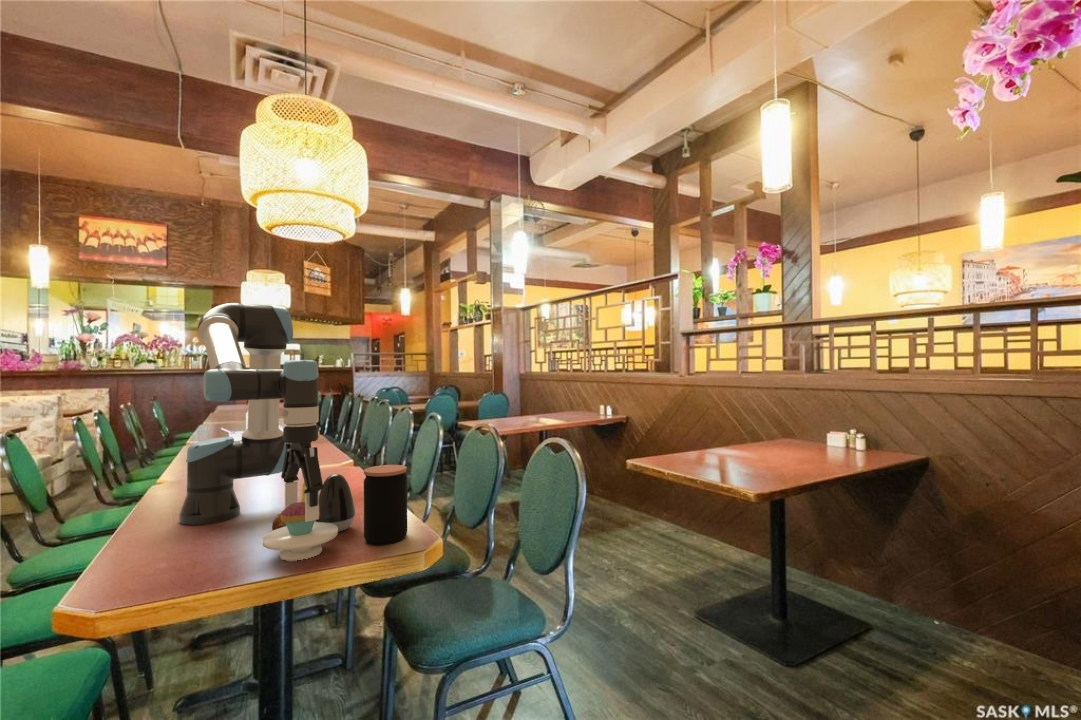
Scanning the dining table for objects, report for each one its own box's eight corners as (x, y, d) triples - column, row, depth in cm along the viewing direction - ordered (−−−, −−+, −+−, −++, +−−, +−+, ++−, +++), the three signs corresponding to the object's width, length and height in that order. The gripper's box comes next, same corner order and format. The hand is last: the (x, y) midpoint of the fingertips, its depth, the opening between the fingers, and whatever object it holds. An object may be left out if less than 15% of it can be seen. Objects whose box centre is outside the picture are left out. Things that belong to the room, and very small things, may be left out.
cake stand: (253, 554, 116) (253, 533, 116) (322, 537, 127) (322, 518, 128) (275, 573, 105) (275, 550, 105) (349, 553, 116) (349, 532, 116)
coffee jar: (416, 536, 128) (415, 467, 128) (382, 549, 119) (382, 474, 119) (389, 529, 133) (388, 463, 134) (355, 541, 125) (354, 470, 125)
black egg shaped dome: (354, 522, 141) (354, 468, 141) (356, 532, 131) (356, 475, 131) (315, 527, 137) (315, 472, 137) (314, 538, 127) (314, 479, 127)
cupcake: (290, 527, 120) (290, 478, 121) (326, 526, 121) (326, 477, 121) (274, 539, 112) (273, 486, 112) (312, 538, 112) (312, 485, 113)
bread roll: (316, 540, 137) (322, 510, 140) (296, 535, 128) (304, 503, 131) (282, 539, 138) (290, 510, 141) (260, 534, 129) (269, 503, 132)
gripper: (267, 422, 123) (267, 507, 123) (303, 430, 105) (303, 529, 105) (298, 420, 128) (299, 501, 128) (338, 427, 111) (338, 521, 110)
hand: (301, 514), depth 116 cm, fingers open, 13 cm apart
